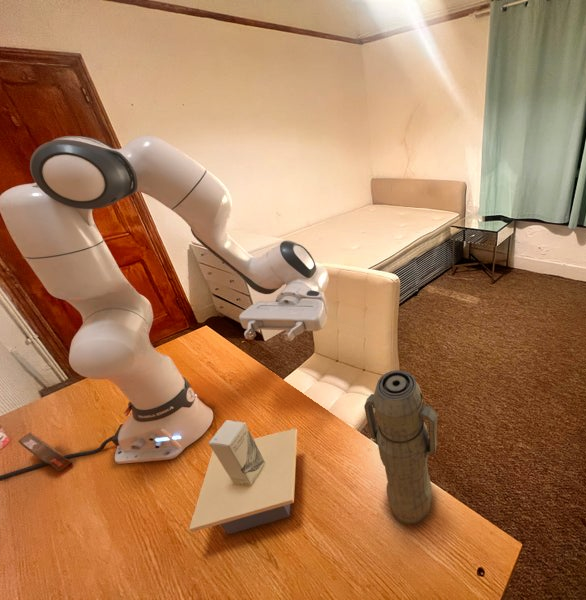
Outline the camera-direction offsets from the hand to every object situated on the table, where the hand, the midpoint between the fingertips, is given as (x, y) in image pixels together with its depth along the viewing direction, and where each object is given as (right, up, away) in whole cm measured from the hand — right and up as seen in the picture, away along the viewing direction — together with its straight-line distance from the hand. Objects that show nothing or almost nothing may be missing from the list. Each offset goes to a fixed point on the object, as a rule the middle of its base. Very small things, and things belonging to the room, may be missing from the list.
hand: (267, 337), depth 67 cm
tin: (-60, -33, +12) cm, 70 cm away
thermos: (+31, -34, -2) cm, 46 cm away
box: (-2, -27, -4) cm, 28 cm away
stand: (-1, -35, +1) cm, 35 cm away
